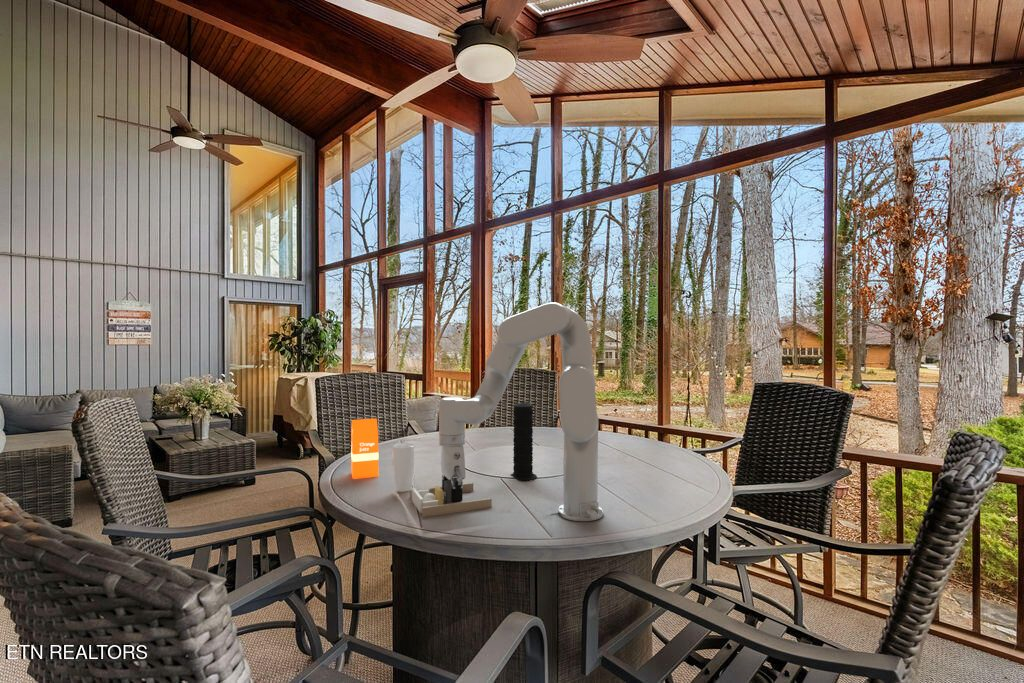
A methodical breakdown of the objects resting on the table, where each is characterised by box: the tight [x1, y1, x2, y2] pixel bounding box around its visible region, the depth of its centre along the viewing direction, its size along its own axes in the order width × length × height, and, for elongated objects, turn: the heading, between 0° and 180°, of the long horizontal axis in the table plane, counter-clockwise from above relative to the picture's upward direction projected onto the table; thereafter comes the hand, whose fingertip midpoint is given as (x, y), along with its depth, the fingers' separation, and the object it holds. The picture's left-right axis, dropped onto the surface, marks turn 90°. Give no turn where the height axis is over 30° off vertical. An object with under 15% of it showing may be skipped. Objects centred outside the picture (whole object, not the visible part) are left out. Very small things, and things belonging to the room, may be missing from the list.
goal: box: [411, 487, 438, 514], centre depth 146 cm, size 11×5×4 cm, turn 23°
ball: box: [423, 493, 436, 502], centre depth 147 cm, size 4×4×4 cm
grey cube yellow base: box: [434, 480, 458, 505], centre depth 149 cm, size 5×7×6 cm
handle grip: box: [510, 402, 538, 482], centre depth 178 cm, size 10×26×10 cm
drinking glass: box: [392, 442, 415, 494], centre depth 162 cm, size 7×7×15 cm
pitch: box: [409, 482, 493, 518], centre depth 149 cm, size 17×20×3 cm
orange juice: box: [350, 418, 380, 480], centre depth 181 cm, size 8×9×20 cm
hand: (452, 496), depth 150 cm, fingers open, 9 cm apart
